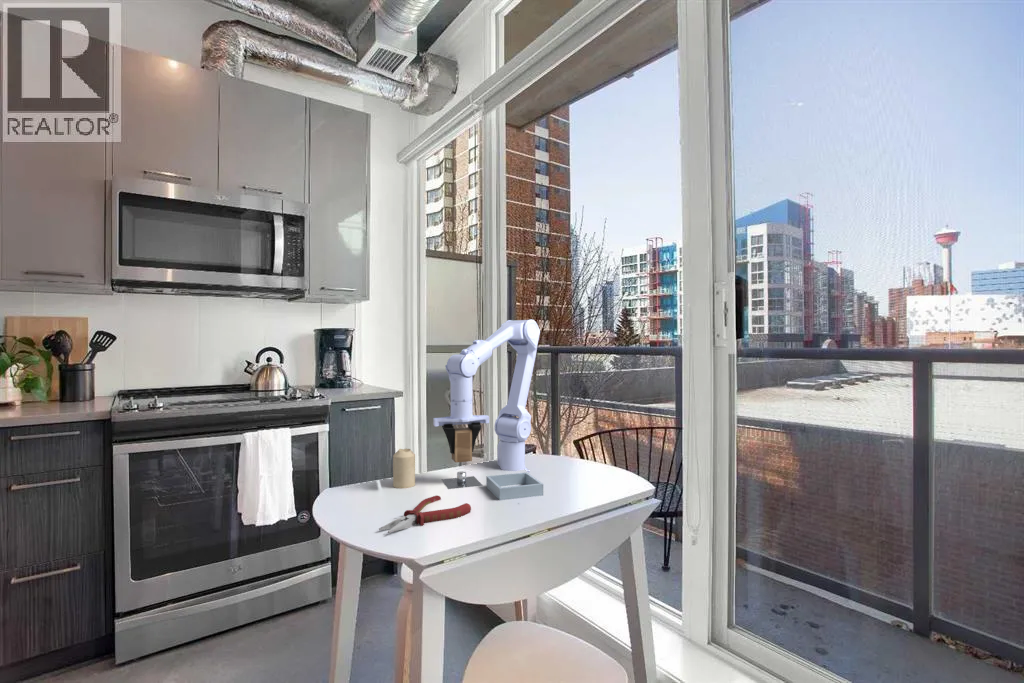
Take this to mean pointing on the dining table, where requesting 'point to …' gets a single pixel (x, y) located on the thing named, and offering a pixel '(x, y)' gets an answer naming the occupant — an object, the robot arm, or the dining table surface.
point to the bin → (514, 492)
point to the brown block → (462, 445)
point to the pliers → (426, 515)
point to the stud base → (455, 485)
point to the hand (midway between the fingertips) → (461, 452)
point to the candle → (404, 469)
